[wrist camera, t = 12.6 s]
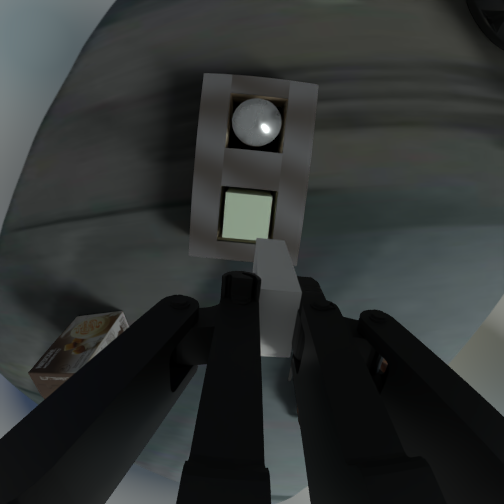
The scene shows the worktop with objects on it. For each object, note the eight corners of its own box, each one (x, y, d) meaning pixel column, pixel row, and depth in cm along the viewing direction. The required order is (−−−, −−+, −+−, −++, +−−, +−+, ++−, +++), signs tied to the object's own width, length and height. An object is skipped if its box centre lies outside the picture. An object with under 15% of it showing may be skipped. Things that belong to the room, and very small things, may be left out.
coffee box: (91, 348, 48) (48, 410, 32) (76, 315, 46) (25, 372, 31) (137, 344, 47) (102, 413, 32) (124, 308, 45) (78, 372, 30)
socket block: (211, 86, 36) (203, 73, 30) (307, 95, 37) (318, 84, 30) (198, 239, 42) (188, 255, 36) (289, 248, 43) (296, 266, 36)
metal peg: (237, 106, 37) (234, 96, 30) (278, 110, 37) (283, 101, 30) (233, 145, 38) (229, 143, 32) (273, 149, 38) (278, 148, 32)
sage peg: (230, 185, 40) (226, 192, 33) (268, 189, 40) (272, 196, 33) (226, 223, 41) (222, 237, 35) (264, 226, 41) (267, 241, 35)
